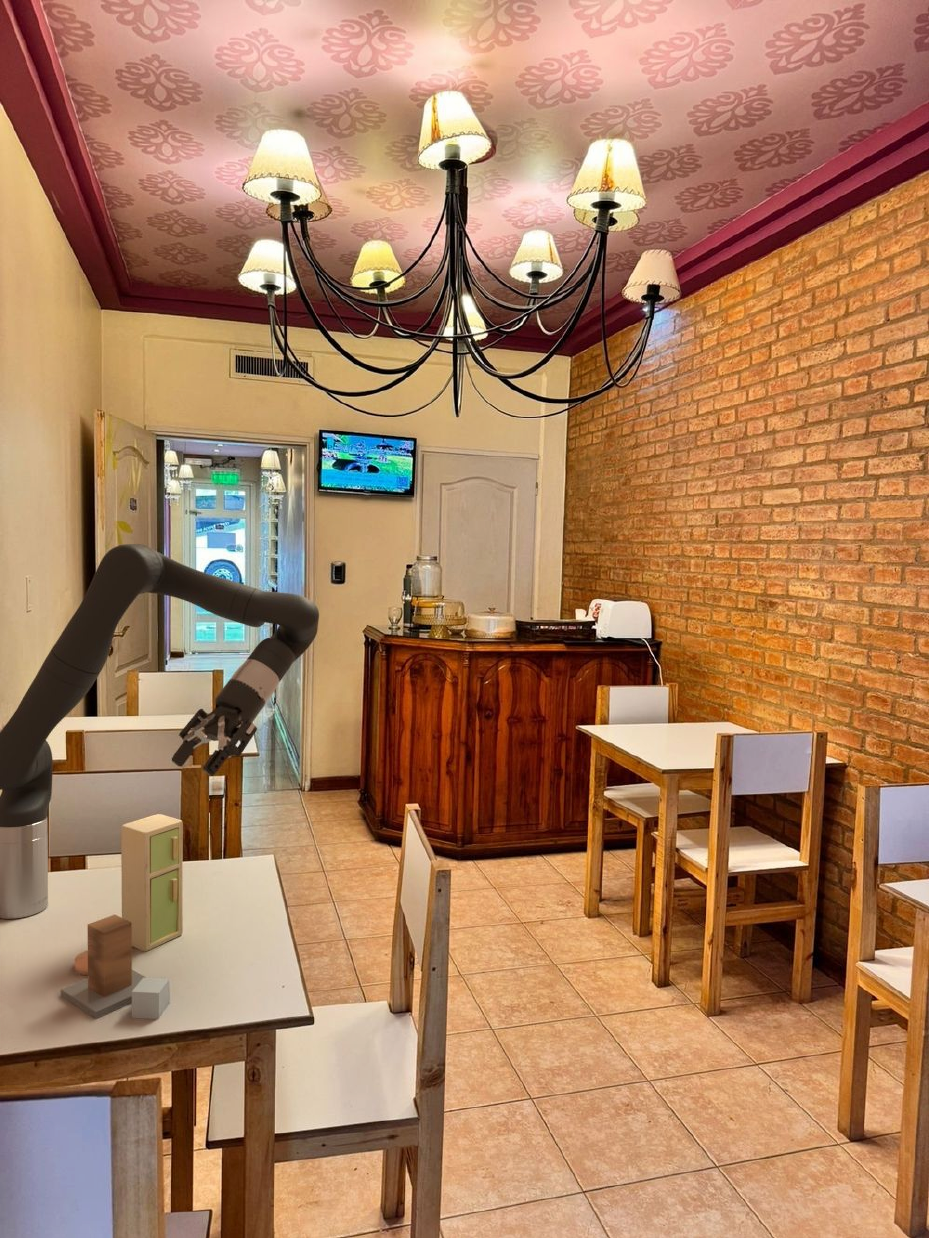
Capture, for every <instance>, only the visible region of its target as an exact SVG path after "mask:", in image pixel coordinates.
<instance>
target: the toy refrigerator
mask: <svg viewBox="0 0 929 1238" xmlns="http://www.w3.org/2000/svg"><path fill="white" fill-rule="evenodd" d="M183 825H184V824H183V821H182V820H181V819H178V818H175V817H173V816H172V817H171V816H168V815H165V814H161V813H157V814H153V815H150V816H147V817H144V818H140V819H137V820H134V821H133V820H132V821H130V822H127V823H124V824H122V825H121V828H120V838H121V839H120V840H121V842H120V846H121V847H120V848H121V851H120V856H121V857H120V860H121V869H120V870H121V918H123V919H125V920H128V921H130V922H132V947H134V948H136V949H138V950H140V951H142V952H149V951H150V950H152V949H155V948H157V947H159V946H161V945H164V944H165V943H167V942H170V941H171V940H174V939H176V938H178V937H179V936H182V935H183V930H184V929H183V924H184V923H183V919H184V918H183V917H184V916H183V915H184V914H183V909H184V908H183V903H184V902H183V883H184V880H183V878H184V877H183V868H184V867H183V855H184V853H183V852H184V851H183V842H184V841H183V835H184V834H183V833H184V832H183V831H184V830H183V827H184V826H183Z"/></svg>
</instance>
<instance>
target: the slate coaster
mask: <svg viewBox="0 0 929 1238" xmlns="http://www.w3.org/2000/svg"><path fill="white" fill-rule="evenodd" d="M143 978H147V976H145V975H143V974H141V973H139V972H137V971H136V970H133V969H132V985H131V986H129V987H126V988H124V989H122V990H120V991H118V992H115V993H113V994H111V995H109V996H106V997H103V996H101V995H99V994H98V993H96V992H94V991H93V990H91V989H89V988H88V977H87V978H84V979H82V980H80V981H78V982H75V983H71V984H70V985H68V986H65V987H63V988H61V989H60V996H61V997H63V998H64V999H65V1000H67V1001H69V1002H70V1003H72V1004H73V1005H75V1006H77V1008H79V1009H81V1010H82V1011H84V1012H85V1013H87V1014H89V1015H90V1016H91V1017H93V1018H95V1019H99V1018H100V1017H103V1016H105V1015H107V1014H109V1013H112V1012H113V1011H115V1010H118V1009H121V1008H123V1007H125V1006H127V1005H129V1004H132V991H133V990H134V988H135V987H136V986H137V985H138V983H139V982H140V981H141V980H142V979H143Z"/></svg>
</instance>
